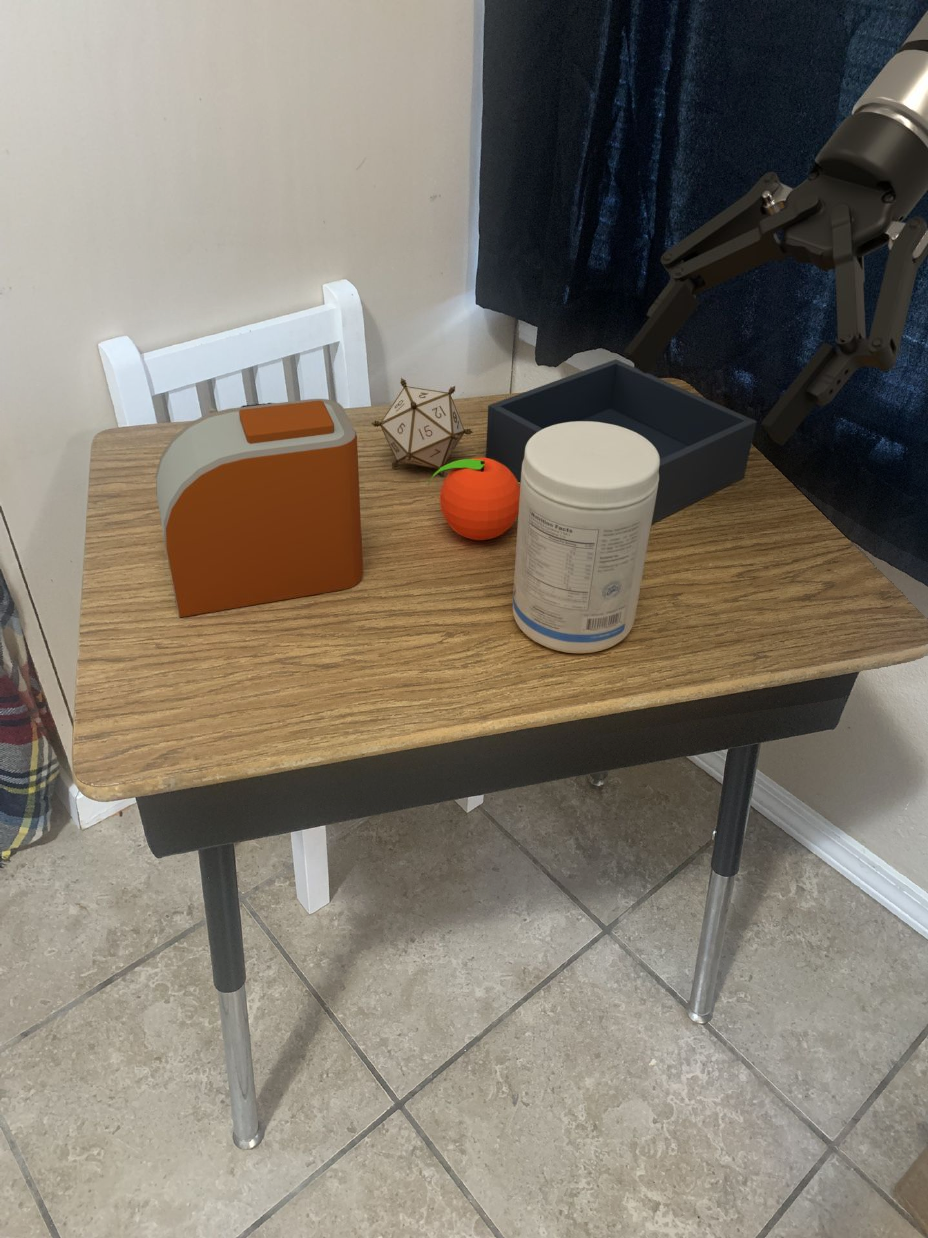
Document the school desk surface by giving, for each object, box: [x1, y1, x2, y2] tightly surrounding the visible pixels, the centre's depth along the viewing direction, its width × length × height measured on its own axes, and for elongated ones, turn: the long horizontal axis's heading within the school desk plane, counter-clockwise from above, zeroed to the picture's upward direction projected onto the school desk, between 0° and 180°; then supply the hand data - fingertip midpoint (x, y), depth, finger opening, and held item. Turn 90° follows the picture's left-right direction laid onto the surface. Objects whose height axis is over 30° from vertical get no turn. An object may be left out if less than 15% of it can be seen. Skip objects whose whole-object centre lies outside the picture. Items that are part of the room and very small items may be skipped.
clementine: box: [427, 457, 520, 541], centre depth 83 cm, size 8×7×7 cm
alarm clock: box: [155, 398, 364, 618], centre depth 75 cm, size 15×8×14 cm, turn 108°
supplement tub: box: [512, 421, 660, 654], centre depth 71 cm, size 10×10×15 cm
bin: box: [485, 359, 758, 526], centre depth 93 cm, size 18×18×6 cm
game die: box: [370, 377, 474, 478], centre depth 92 cm, size 9×8×10 cm
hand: (698, 397), depth 70 cm, fingers open, 13 cm apart
